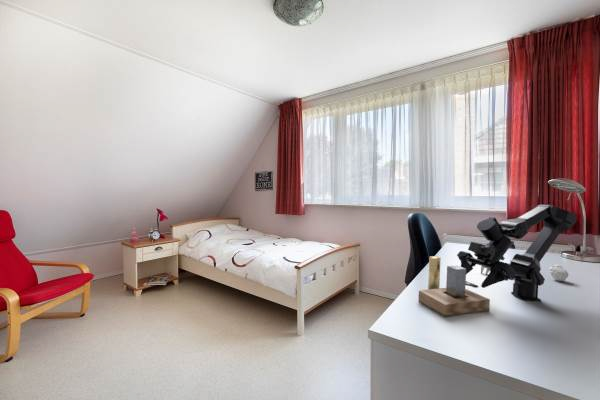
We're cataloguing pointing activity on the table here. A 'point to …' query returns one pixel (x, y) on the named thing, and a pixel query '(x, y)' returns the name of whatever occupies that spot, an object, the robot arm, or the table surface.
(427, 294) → the bore block
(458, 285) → the grey rectangular block
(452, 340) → the table surface
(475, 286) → the usb flash drive
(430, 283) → the brass pin
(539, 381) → the table surface
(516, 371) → the table surface
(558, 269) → the crumpled paper ball
